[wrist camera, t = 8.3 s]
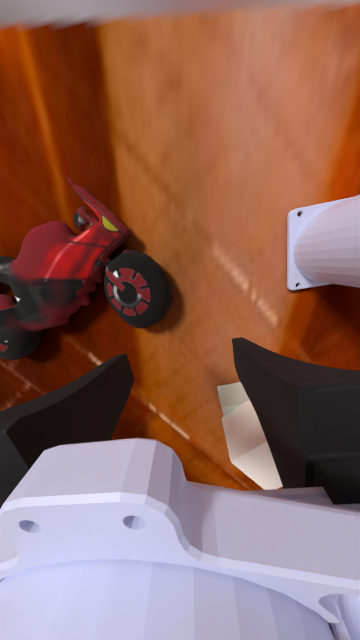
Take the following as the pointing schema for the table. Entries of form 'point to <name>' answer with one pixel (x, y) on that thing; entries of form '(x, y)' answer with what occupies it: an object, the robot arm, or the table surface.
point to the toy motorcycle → (76, 278)
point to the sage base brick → (231, 397)
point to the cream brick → (250, 446)
